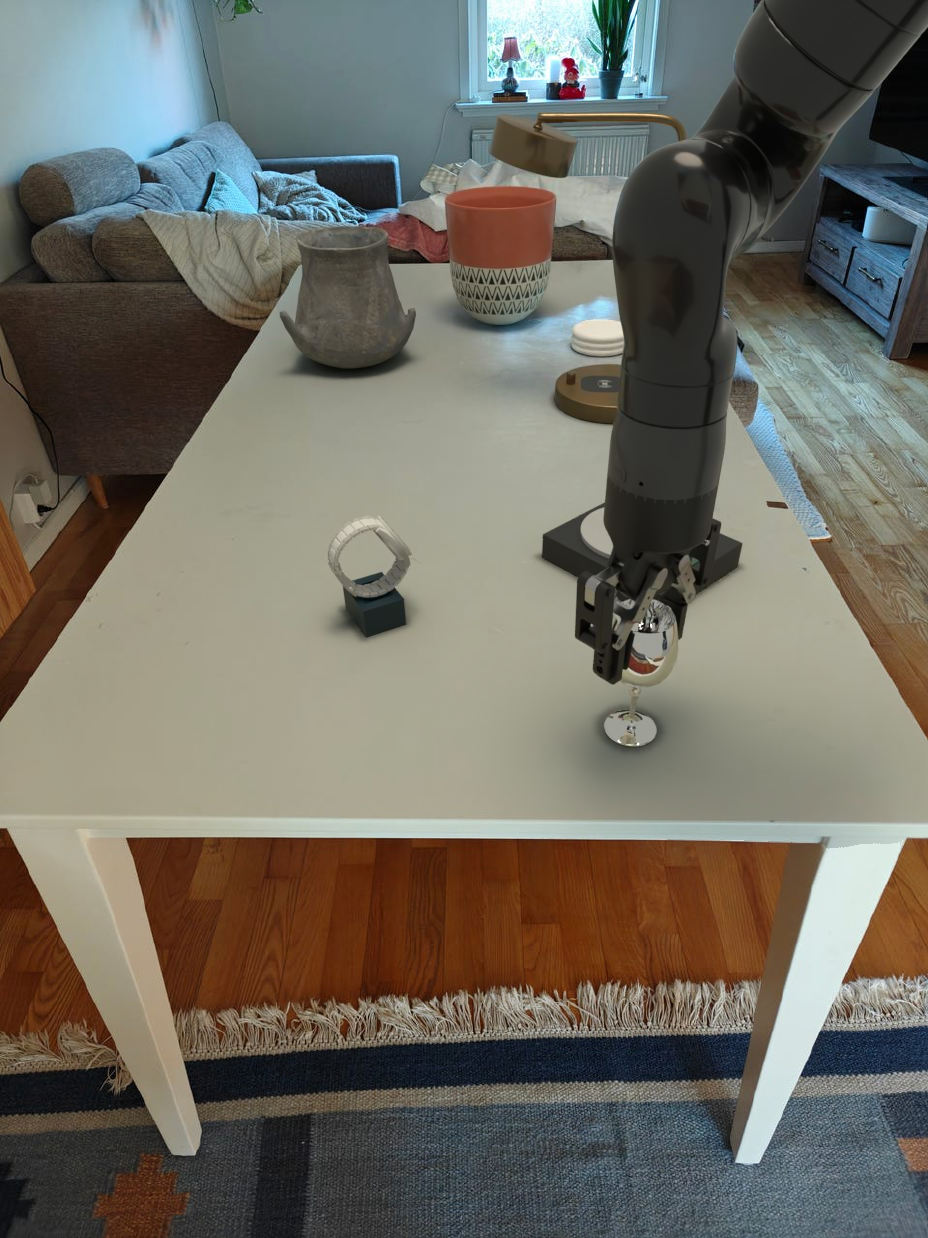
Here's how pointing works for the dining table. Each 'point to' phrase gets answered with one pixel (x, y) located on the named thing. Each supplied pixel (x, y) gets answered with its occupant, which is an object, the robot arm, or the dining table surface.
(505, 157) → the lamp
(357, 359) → the vessel
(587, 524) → the scale
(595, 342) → the white round stack
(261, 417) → the dining table surface
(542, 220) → the planter
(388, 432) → the dining table surface
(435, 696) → the dining table surface
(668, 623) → the wineglass
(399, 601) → the watch
